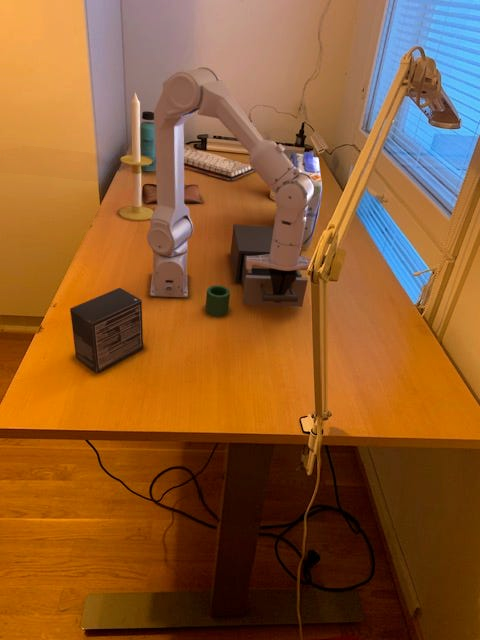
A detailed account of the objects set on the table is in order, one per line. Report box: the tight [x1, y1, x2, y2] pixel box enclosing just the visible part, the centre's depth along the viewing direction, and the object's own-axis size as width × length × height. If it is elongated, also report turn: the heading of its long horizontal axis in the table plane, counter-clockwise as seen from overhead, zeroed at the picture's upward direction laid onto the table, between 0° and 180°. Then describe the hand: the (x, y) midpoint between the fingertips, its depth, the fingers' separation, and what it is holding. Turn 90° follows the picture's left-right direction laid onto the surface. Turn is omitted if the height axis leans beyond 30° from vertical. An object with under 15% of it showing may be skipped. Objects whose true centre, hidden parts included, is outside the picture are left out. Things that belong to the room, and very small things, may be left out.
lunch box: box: [275, 151, 323, 250], centre depth 134 cm, size 28×10×22 cm, turn 176°
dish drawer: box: [240, 254, 308, 308], centre depth 106 cm, size 19×13×7 cm
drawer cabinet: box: [229, 223, 302, 285], centre depth 118 cm, size 15×14×8 cm
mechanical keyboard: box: [184, 144, 256, 181], centre depth 186 cm, size 38×19×3 cm, turn 61°
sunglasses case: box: [141, 183, 203, 205], centre depth 153 cm, size 18×7×7 cm
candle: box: [118, 90, 155, 221], centre depth 132 cm, size 10×10×32 cm
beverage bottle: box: [140, 111, 156, 172], centre depth 167 cm, size 6×7×20 cm
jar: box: [205, 284, 231, 318], centre depth 101 cm, size 5×5×5 cm
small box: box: [69, 287, 145, 374], centre depth 85 cm, size 11×6×10 cm, turn 141°
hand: (276, 300), depth 101 cm, fingers closed, pressing on dish drawer
